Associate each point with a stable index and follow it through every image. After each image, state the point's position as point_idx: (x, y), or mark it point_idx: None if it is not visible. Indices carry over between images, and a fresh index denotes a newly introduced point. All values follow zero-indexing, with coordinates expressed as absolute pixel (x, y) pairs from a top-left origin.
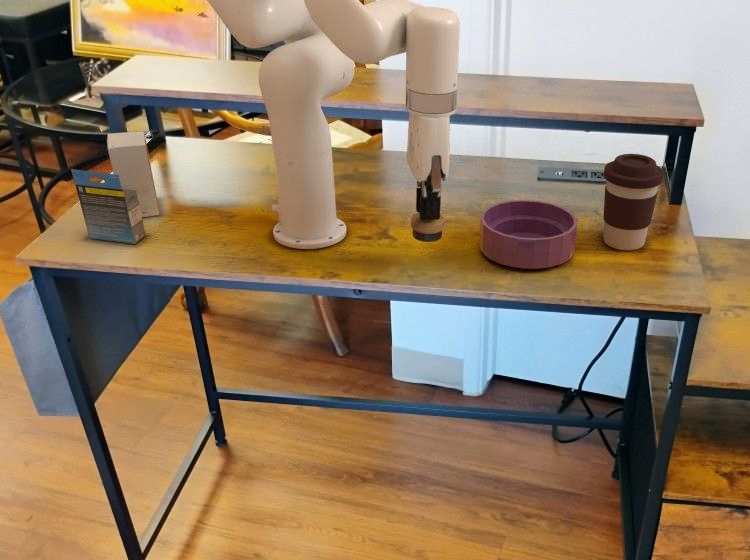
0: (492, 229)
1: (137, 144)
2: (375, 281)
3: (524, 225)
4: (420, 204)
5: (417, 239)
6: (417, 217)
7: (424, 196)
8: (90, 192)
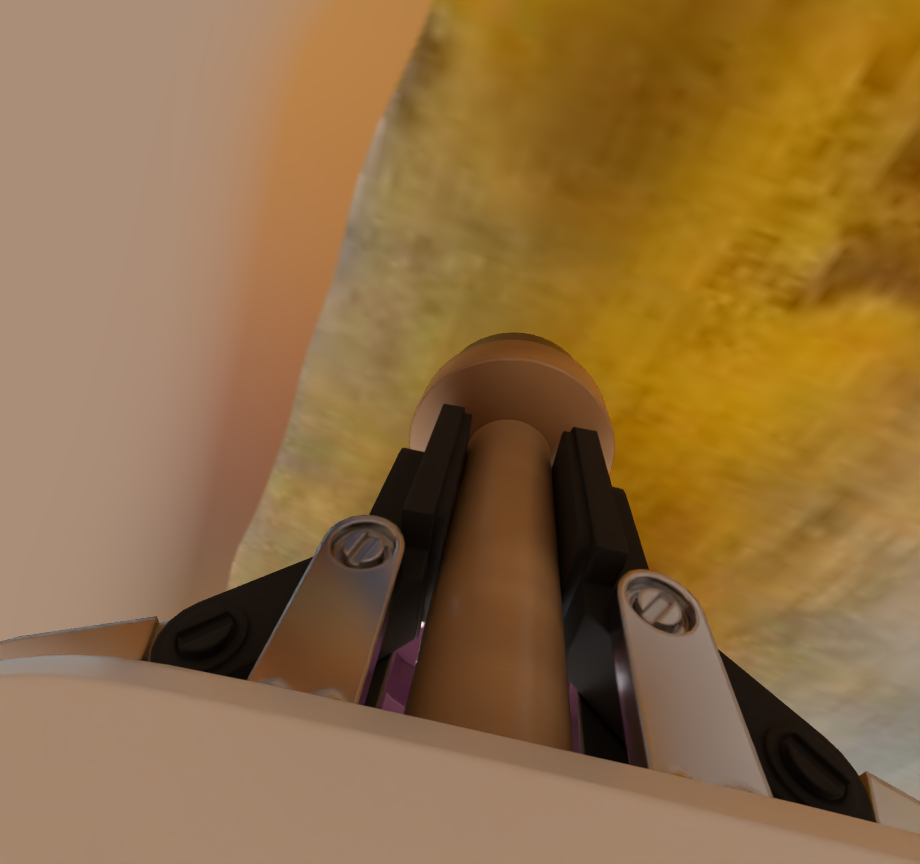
0: (423, 624)
1: None
2: (424, 53)
3: (568, 684)
4: (424, 462)
5: (477, 341)
6: (544, 406)
7: (326, 535)
8: None
